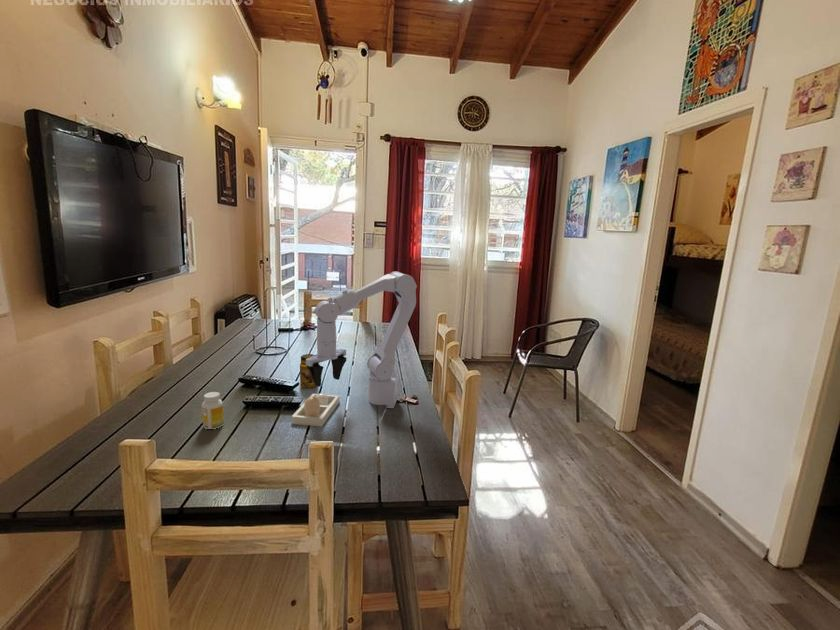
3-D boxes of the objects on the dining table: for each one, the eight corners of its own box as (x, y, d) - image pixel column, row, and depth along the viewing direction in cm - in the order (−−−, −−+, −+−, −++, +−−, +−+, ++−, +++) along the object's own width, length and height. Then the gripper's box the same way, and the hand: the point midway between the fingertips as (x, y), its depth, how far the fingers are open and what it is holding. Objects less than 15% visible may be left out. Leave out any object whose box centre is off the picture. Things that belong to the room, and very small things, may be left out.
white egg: (330, 404, 133) (330, 391, 132) (325, 410, 129) (325, 397, 128) (317, 403, 134) (317, 390, 133) (312, 409, 129) (312, 395, 128)
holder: (339, 404, 135) (339, 395, 135) (321, 428, 119) (321, 419, 118) (312, 402, 136) (312, 393, 136) (291, 426, 120) (291, 416, 119)
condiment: (308, 393, 144) (308, 360, 141) (291, 387, 148) (290, 355, 145) (323, 386, 150) (323, 355, 147) (306, 381, 154) (305, 350, 151)
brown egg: (322, 416, 125) (322, 396, 123) (313, 422, 121) (313, 401, 119) (310, 413, 126) (310, 393, 125) (301, 419, 122) (301, 398, 121)
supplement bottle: (199, 430, 115) (197, 398, 113) (207, 421, 120) (205, 390, 118) (220, 430, 116) (217, 398, 114) (226, 421, 121) (225, 390, 119)
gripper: (316, 348, 118) (317, 392, 121) (353, 338, 130) (353, 378, 133) (300, 343, 122) (302, 386, 125) (337, 334, 134) (337, 373, 137)
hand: (327, 382), depth 129 cm, fingers open, 7 cm apart
